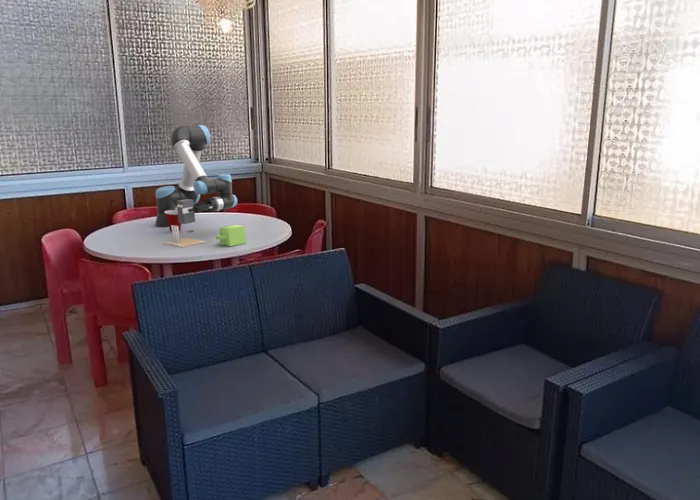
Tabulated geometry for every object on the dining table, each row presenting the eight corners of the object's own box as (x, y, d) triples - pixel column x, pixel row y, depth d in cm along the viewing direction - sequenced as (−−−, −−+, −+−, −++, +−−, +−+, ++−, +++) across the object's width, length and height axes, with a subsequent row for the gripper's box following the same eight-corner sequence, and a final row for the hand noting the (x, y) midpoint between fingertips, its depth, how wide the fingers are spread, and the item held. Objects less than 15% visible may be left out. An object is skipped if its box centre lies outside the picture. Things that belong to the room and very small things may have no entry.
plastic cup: (179, 233, 340) (178, 213, 337) (162, 233, 342) (160, 212, 340) (188, 229, 351) (186, 209, 348) (171, 229, 353) (169, 209, 350)
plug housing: (178, 223, 315) (176, 200, 312) (189, 220, 320) (187, 199, 318) (184, 224, 312) (182, 201, 309) (195, 221, 317) (193, 199, 315)
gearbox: (240, 240, 324) (239, 223, 322) (252, 241, 318) (251, 224, 316) (213, 245, 311) (212, 227, 309) (225, 247, 304) (224, 229, 302)
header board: (163, 243, 316) (162, 224, 313) (186, 238, 327) (184, 220, 325) (183, 247, 307) (181, 228, 304) (205, 241, 318) (204, 223, 316)
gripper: (224, 212, 325) (191, 219, 307) (203, 209, 335) (169, 216, 317) (223, 199, 323) (189, 205, 305) (202, 196, 334) (167, 202, 315)
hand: (179, 210), depth 311 cm, fingers closed on plug housing, 5 cm apart
